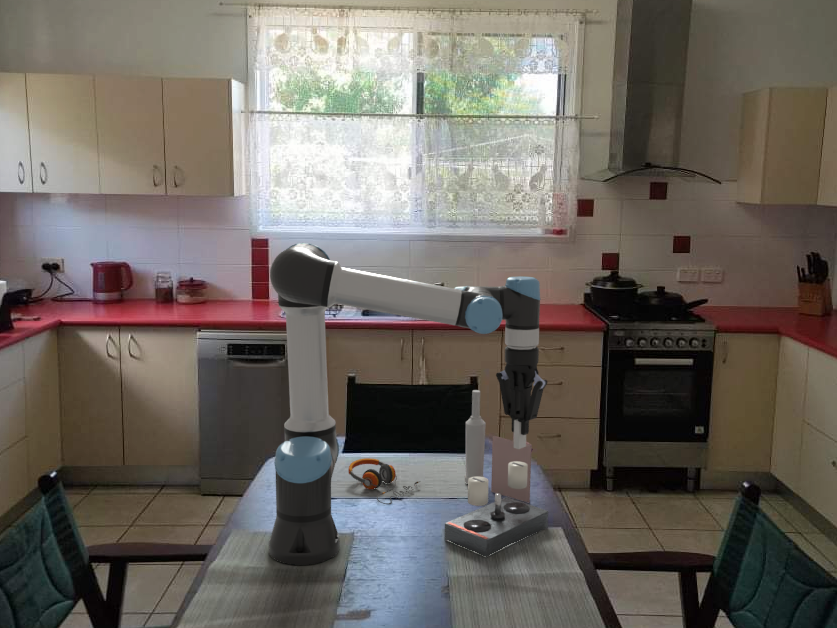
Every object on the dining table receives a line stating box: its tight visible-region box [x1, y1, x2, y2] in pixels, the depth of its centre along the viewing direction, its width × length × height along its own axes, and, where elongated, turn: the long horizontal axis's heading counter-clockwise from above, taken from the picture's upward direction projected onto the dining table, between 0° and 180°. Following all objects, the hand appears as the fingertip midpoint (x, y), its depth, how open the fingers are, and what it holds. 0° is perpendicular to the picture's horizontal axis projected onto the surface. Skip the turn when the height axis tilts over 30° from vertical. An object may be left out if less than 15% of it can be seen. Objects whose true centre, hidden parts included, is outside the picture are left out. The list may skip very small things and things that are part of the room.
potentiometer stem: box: [490, 493, 505, 520], centre depth 182 cm, size 3×3×5 cm
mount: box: [444, 496, 549, 558], centre depth 183 cm, size 12×22×4 cm, turn 135°
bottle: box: [464, 389, 487, 485], centre depth 212 cm, size 5×5×25 cm
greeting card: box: [490, 432, 533, 504], centre depth 205 cm, size 11×7×15 cm, turn 16°
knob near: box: [467, 476, 489, 507], centre depth 177 cm, size 4×4×5 cm
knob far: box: [508, 461, 528, 489], centre depth 186 cm, size 4×4×5 cm
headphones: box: [348, 457, 421, 505], centre depth 210 cm, size 17×5×20 cm
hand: (519, 446), depth 185 cm, fingers closed
